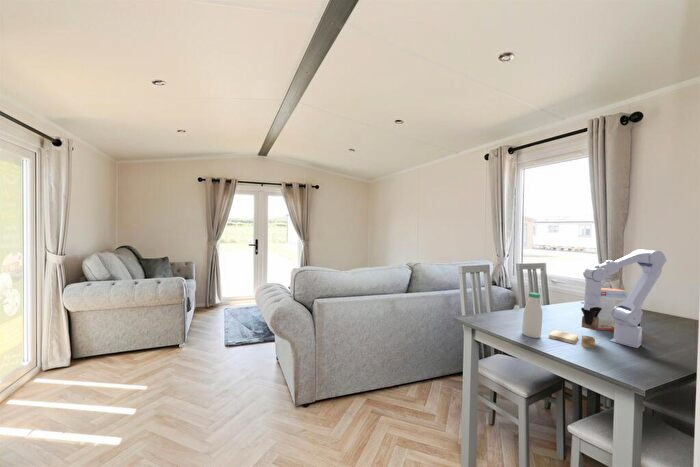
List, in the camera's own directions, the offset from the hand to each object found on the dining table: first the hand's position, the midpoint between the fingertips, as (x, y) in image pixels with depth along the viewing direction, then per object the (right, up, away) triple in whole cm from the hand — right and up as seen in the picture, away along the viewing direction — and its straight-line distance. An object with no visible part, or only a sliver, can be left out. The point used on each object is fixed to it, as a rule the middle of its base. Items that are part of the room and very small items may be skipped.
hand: (590, 323), depth 148 cm
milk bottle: (-25, -7, +4) cm, 26 cm away
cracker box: (+22, -9, +20) cm, 31 cm away
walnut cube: (0, -2, 0) cm, 2 cm away
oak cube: (-6, -8, -7) cm, 12 cm away
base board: (-11, -8, +2) cm, 13 cm away
